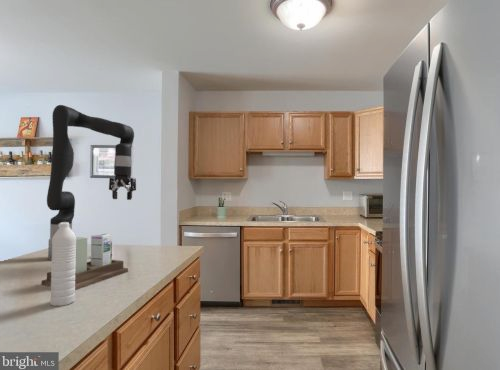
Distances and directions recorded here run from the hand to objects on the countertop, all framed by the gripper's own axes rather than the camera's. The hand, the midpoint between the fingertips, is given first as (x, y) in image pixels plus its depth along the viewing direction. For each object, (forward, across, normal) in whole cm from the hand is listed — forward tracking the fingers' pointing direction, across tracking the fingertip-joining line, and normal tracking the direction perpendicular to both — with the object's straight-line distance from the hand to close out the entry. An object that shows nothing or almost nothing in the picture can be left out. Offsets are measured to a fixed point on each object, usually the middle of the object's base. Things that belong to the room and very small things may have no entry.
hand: (122, 199), depth 147 cm
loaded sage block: (+29, +7, -31) cm, 43 cm away
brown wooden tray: (+30, +7, -25) cm, 40 cm away
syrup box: (+28, +7, -18) cm, 35 cm away
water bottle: (+30, +22, -48) cm, 61 cm away
